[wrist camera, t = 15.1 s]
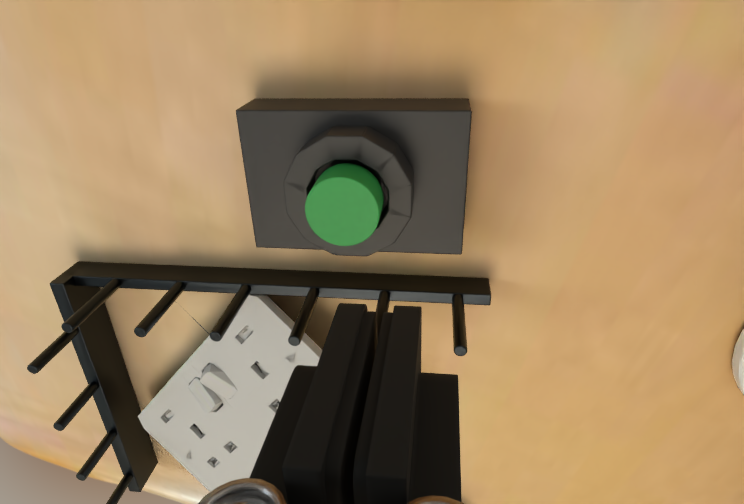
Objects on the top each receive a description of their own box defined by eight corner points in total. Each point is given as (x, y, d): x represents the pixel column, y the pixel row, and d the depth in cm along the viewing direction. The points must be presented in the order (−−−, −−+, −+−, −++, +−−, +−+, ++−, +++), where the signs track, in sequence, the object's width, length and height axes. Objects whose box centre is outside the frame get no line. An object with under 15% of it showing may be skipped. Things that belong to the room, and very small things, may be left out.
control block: (468, 98, 27) (474, 120, 22) (459, 232, 31) (463, 273, 26) (254, 98, 28) (219, 119, 24) (271, 226, 32) (244, 264, 28)
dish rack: (488, 277, 32) (500, 347, 26) (465, 512, 43) (469, 599, 37) (78, 261, 35) (1, 319, 29) (154, 482, 46) (111, 558, 40)
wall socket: (273, 491, 43) (252, 531, 39) (125, 393, 43) (91, 424, 39) (384, 348, 35) (372, 381, 32) (206, 228, 35) (172, 247, 31)
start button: (383, 163, 24) (378, 177, 23) (384, 229, 26) (380, 247, 24) (311, 162, 25) (301, 176, 23) (316, 227, 26) (308, 245, 25)
